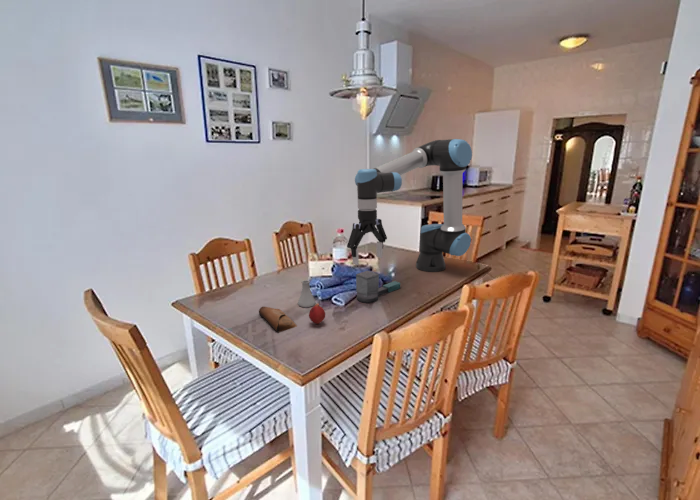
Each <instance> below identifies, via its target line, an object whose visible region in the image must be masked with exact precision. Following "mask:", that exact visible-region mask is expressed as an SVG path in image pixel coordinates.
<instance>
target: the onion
mask: <svg viewBox="0 0 700 500" xmlns="http://www.w3.org/2000/svg"><path fill="white" fill-rule="evenodd" d="M310 308H311V309H310V310H309V313H308V317H309V319H310V321H311V322H312V323H314V324H316V325H319V324H320V323H322V322H323V321H324V320H325V318H326V311H325V310H324V308H323V307H321V306H320V304H319V303H316V304H315V305H313V306H311V307H310Z"/></svg>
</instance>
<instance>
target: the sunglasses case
mask: <svg viewBox="0 0 700 500" xmlns="http://www.w3.org/2000/svg"><path fill="white" fill-rule="evenodd" d="M258 314H259V315H260V316H261V317H262V318H263V319H264V320H265V321H266V322H267V323H268V324H269V325H270V326H271V327H272V328H273V329H274V330H275V331H276V332H277V333H282V332H285V331H288V330H291V329H294V328H297V327H298V325H297V324H296V323H295V322H294V320H292V318H290V317H289V316H288V315H287V314H286V313H285V311H282V310H281V309H280V308H273V307H269V306H260V308H259V310H258Z"/></svg>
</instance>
